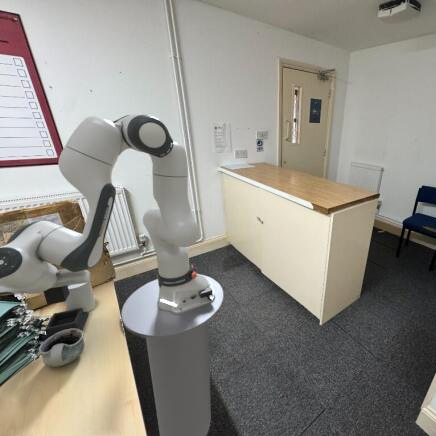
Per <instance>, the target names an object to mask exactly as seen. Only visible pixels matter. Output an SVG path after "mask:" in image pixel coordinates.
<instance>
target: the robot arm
mask: <svg viewBox="0 0 436 436" xmlns="http://www.w3.org/2000/svg"><path fill="white" fill-rule="evenodd" d="M129 149H131V150H134V151H136V152H140V153H145V154H147V155H148V156H149V157H150V160H151V164H152V166H151V169H152V170H151V171H152V173H151V174H152V196H153V199H154V200H155V202H156V204H157V206H154V207H151V208H149V209H147V210H146V211H145V212H144V214H143V216H142V224H143V226H144V227H145V229H146V230H147V233H148V235H149V238H150V241H151V244H152V247H153V249H154V253H155V255H156V256H155V257H156V262H157V269H158V271H157V279H158V284H159V297H158V301H157V305H158V307H159V308H160V309H162V310H165V311H170V312H172V313H174V314H180V313H183V312H186V311H188V310H191V309H194V308H197V307H199V306H202V305H205V304H208V303H210V302H213V301H214V299H215V290H214V288H213V286H212V285H211V284H210V283H209V282H208V281H207V279H206V278H205V277H204V276H202V275H203V274H201V275H199V274H200V273H197V272H196V270H195V268H194V266H193V265H190V257H189V256H190V255H189V253H190V252H189V250H188V248H189V247H191V246H193V245H194V244H195V243H197V241H198V239H200V235H201V228H200V226H199V225H198V223H197V221H196V220H195V217H194V214H193V212H192V208H191V204H190V199H189V166H188V158H187V153H186V149H185V147H184V146H183V145H182V144H180V143H179V142H176V141H174V140H173V138H172V136H171V134H170V131H169V129H168V128H167V126H166V125H165V123H163V122H162V120H160V119H159V118H157V117H156V116H154V115H150V114H143V113H132V114H127V115H124V116H122V117H120V118H117V119H116V120H114V121H111V120H109V119H107V118H104V117H100V116H88V117H86V118H84V119H83V120H82V121H81V122H80V124H79V125H78V126H77V127H76V128H75V129H74V131H73V132H72V134H71V135H70V136H69V138H68V139H67V141H66V143H65V145H64V147H63V149H62V151H61V153H60V155H59V158H58V164H57V165H58V169H59V171H60V173H61V175H62V176H63V178H64V179H65V180H66V181H67V182H68V183H69V184H70V185H71V186H72V187H74V188H75V189H76V190H77V191H78V192H79V193H80V194H81V195H82V197H84V198H85V200H86V202H87V204H88V213H87V216H86V220H85V223H84V228H83V232H82V233H81V232H78V231H75V230H73V229H70V228H67V227H66V226H63V225H60V224H57V223H55V222H53V221H49V220H46V219H45V220H44V219H43V220H36V221H34V222H33V221H32V222H29V223H27V224H25V225H23V226H21V227H20V228H18V229H17V230H16V231H15V232H14V233H13V234H11V236H10V237H9V238H8V240H7V241H6V243H5V244H4V245H1V246H0V296H8V295H9V296H10V295H16V294H19V295H20V294H22V295H23V294H27V295H36V294H41V293H44V292H43V291H46V290H47V289H49V288H55V287H62V286H64V287H67V286H70V285H75V284H81V283H87V282H89V281H90V282H91V272H90V271H89V270H90V269H92V268H94V267H95V266H96V265H97V264H98V263H99V262H100V260H101V258H102V256H103V253H104V248H105V239H106V235H107V231H108V227H109V224H110V222H111V221H110V220H111V217H112V213H113V209H114V205H115V200H116V195H117V190H116V187H115V186H114V185H113V181H112V174H113V170H114V168H115V165H116V163H117V161H118V159H119V156H120V155H121V154H123V152H125V151H126V150H129ZM56 266H59V267H61V268H62V269H58V268H57V267H56Z"/></svg>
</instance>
